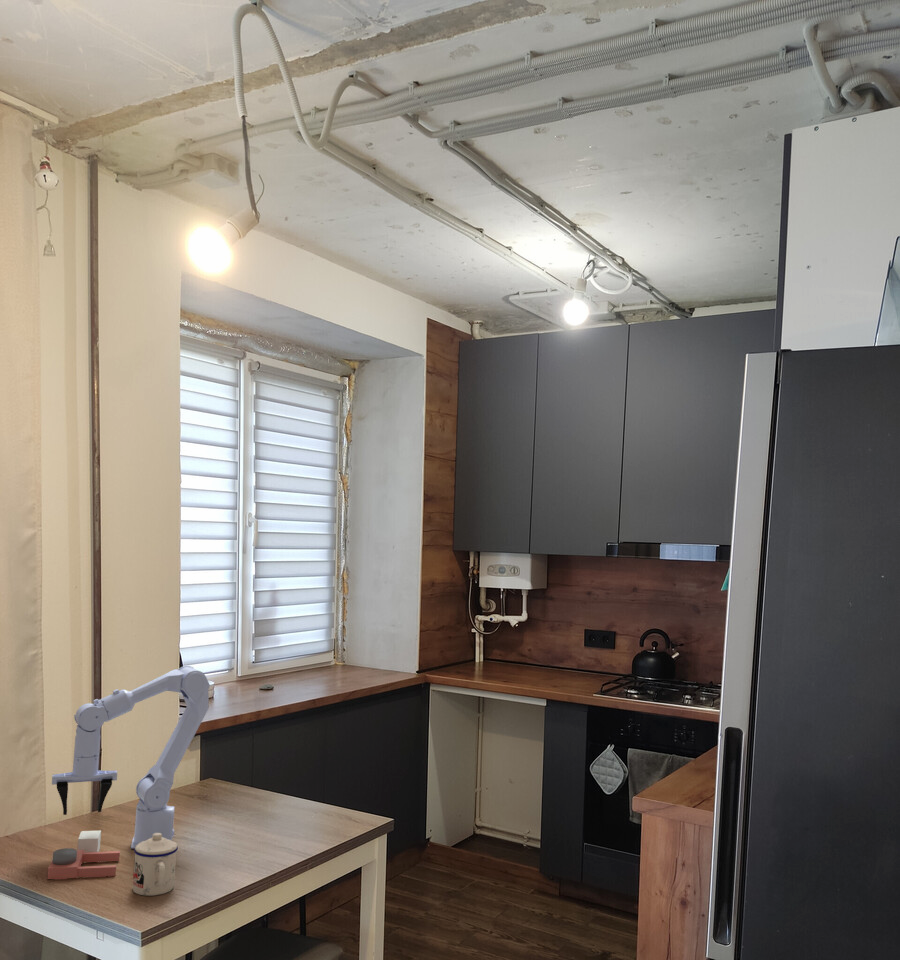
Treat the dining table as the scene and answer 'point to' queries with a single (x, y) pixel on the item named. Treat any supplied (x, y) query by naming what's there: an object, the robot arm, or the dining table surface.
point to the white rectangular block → (89, 841)
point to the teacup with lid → (154, 866)
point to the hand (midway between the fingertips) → (82, 812)
